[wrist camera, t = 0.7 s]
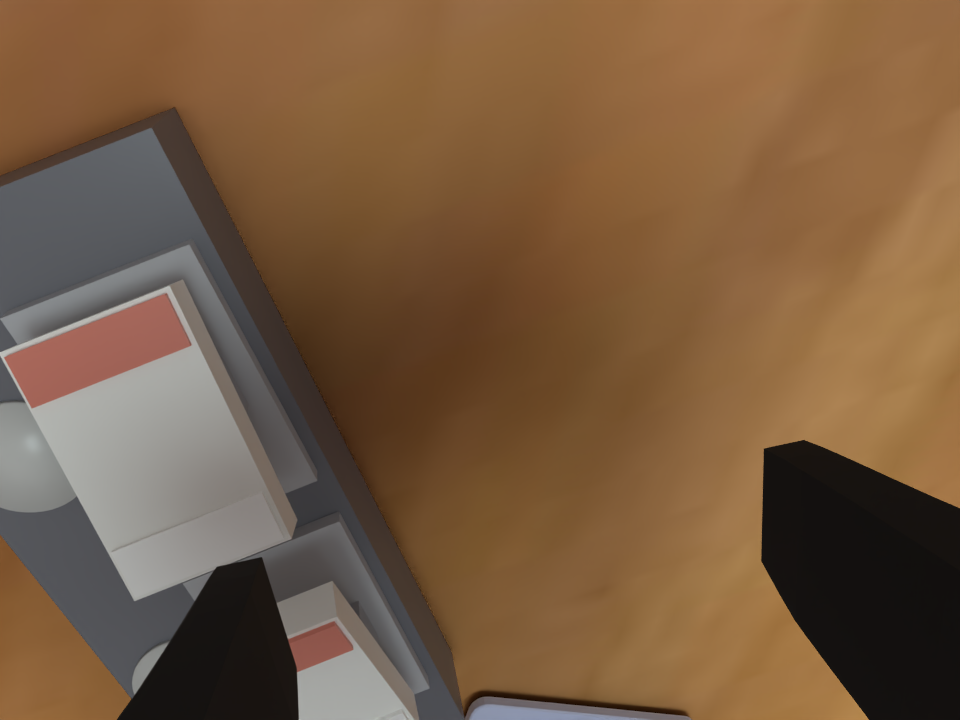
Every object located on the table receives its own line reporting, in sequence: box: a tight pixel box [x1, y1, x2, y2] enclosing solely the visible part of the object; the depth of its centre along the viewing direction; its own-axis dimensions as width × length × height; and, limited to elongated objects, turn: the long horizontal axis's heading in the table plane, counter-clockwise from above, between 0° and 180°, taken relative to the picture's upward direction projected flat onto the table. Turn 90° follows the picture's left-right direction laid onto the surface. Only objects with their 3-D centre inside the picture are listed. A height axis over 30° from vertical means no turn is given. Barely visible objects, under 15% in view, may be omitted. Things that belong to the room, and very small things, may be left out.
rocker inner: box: [277, 581, 419, 720], centre depth 18 cm, size 5×3×1 cm, turn 20°
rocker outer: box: [0, 280, 297, 601], centre depth 15 cm, size 5×3×1 cm, turn 20°
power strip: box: [0, 108, 465, 720], centre depth 20 cm, size 19×7×4 cm, turn 20°
